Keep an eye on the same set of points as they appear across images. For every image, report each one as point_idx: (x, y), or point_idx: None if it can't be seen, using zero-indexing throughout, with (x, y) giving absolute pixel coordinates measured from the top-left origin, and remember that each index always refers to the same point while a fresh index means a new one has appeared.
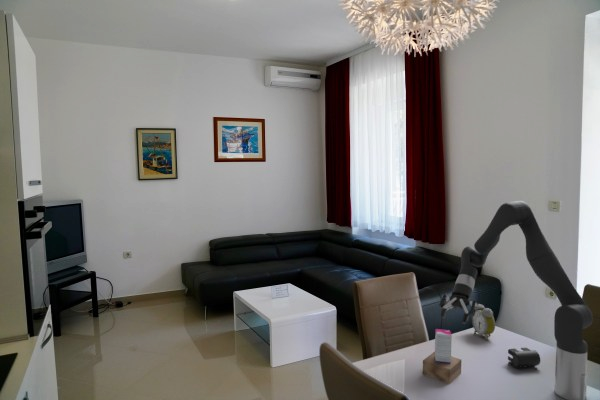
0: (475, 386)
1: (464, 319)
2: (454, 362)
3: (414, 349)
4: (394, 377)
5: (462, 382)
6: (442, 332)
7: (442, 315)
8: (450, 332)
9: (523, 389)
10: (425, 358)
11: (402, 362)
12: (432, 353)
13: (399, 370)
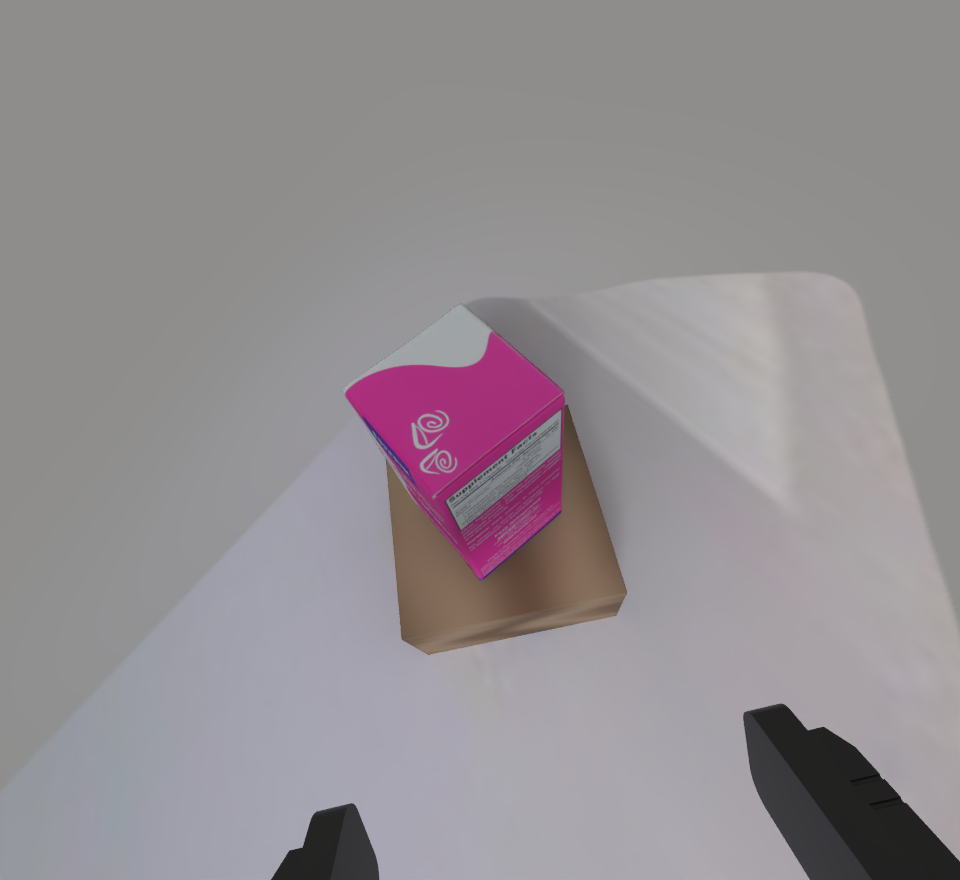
0: (298, 577)
1: (302, 862)
2: (413, 548)
3: (927, 718)
4: (620, 322)
5: (369, 556)
6: (444, 368)
7: (780, 716)
8: (388, 441)
9: (57, 803)
10: (576, 436)
11: (746, 461)
12: (607, 539)
13: (667, 383)
